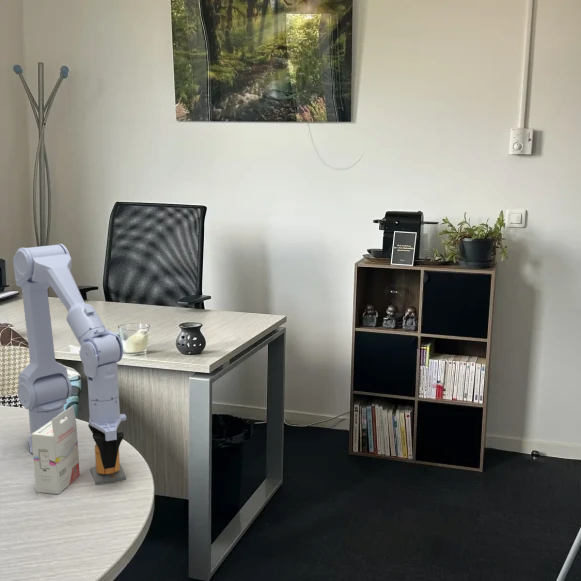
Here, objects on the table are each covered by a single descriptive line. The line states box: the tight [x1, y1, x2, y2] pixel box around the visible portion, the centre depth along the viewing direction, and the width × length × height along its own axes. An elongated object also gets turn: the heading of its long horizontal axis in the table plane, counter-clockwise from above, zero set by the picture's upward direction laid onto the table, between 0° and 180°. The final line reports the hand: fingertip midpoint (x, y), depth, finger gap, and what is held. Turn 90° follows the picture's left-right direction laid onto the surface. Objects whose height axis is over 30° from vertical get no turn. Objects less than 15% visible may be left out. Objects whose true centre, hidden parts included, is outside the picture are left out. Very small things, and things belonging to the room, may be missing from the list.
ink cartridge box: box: [30, 405, 80, 495], centre depth 140 cm, size 9×5×15 cm, turn 168°
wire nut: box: [94, 443, 121, 474], centre depth 144 cm, size 5×5×5 cm
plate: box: [90, 464, 127, 485], centre depth 145 cm, size 7×6×3 cm
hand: (107, 462), depth 144 cm, fingers closed on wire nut, 4 cm apart
